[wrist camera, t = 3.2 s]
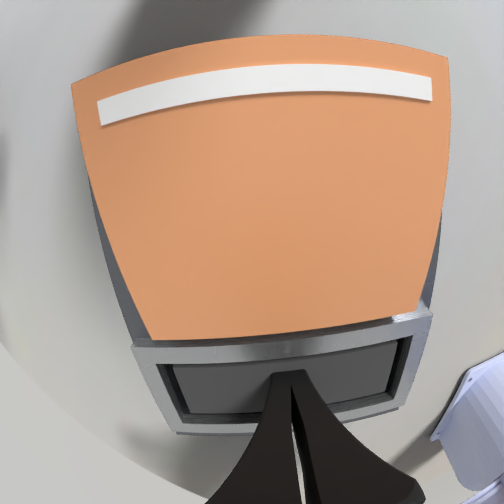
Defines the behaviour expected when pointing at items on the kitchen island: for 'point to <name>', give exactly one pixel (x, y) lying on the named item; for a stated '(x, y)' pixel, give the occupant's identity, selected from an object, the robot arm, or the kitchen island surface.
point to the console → (271, 355)
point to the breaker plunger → (258, 372)
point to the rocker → (269, 180)
